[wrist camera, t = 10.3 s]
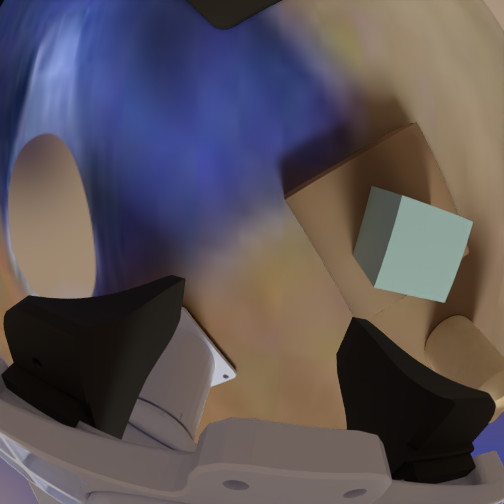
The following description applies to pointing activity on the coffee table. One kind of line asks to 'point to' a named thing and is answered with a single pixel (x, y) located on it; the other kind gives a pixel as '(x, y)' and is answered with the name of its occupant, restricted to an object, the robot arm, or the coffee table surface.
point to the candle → (467, 358)
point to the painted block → (410, 245)
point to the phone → (229, 10)
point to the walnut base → (354, 205)
